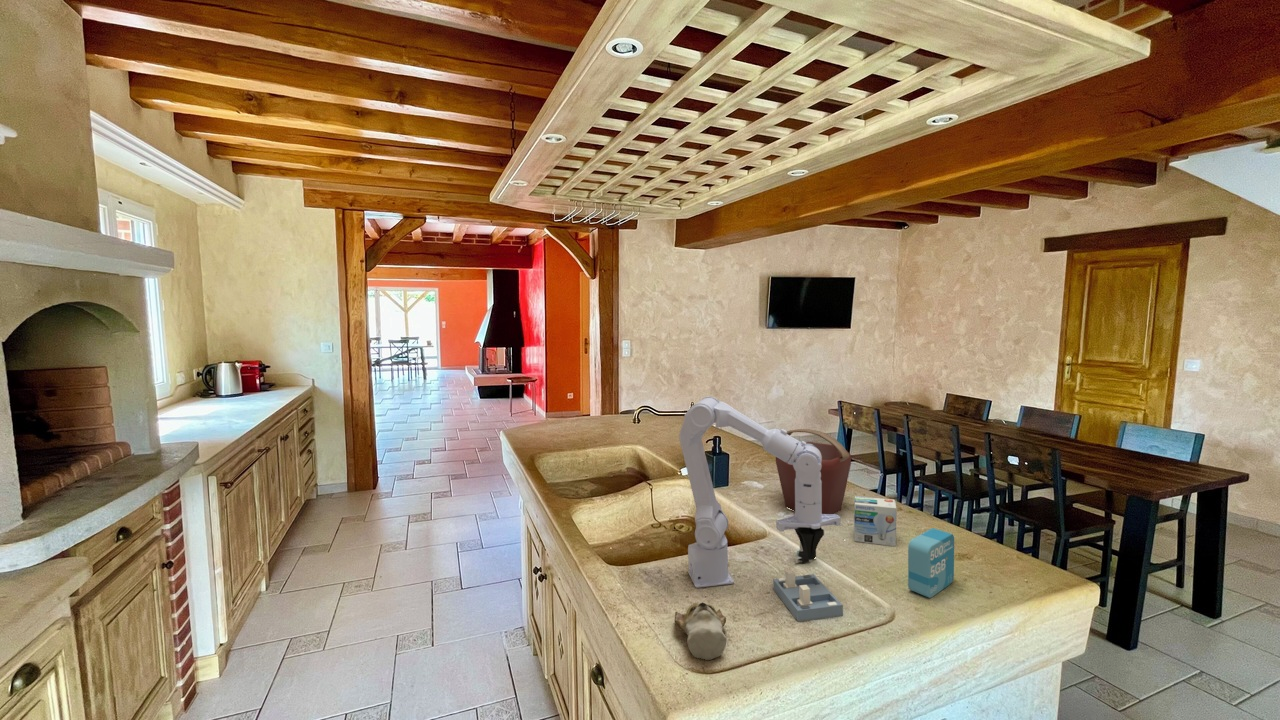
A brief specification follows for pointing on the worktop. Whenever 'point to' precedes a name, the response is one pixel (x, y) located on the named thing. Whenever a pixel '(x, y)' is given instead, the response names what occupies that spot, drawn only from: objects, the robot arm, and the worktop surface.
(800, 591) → the tab near
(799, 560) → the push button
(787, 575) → the tab far
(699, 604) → the ceramic sculpture
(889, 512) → the light bulb box
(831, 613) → the dip bank
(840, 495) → the bucket
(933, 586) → the data package
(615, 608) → the worktop surface
